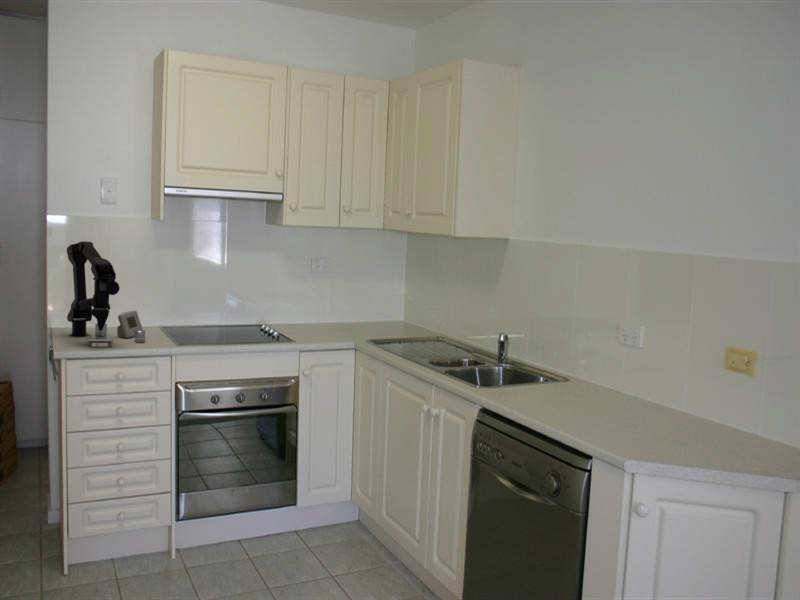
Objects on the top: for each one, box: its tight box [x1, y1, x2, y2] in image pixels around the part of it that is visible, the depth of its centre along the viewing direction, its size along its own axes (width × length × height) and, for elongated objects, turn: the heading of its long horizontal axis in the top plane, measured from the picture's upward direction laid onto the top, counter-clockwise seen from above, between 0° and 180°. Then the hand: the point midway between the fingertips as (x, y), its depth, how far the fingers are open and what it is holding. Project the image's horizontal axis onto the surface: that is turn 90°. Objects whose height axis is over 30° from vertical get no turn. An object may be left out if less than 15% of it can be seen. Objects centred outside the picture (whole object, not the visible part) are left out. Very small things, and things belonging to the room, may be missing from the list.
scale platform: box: [87, 334, 114, 342], centre depth 304 cm, size 10×9×1 cm
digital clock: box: [116, 310, 144, 339], centre depth 329 cm, size 16×9×11 cm, turn 165°
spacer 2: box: [133, 329, 146, 344], centre depth 315 cm, size 4×4×5 cm
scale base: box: [87, 338, 114, 348], centre depth 304 cm, size 10×9×2 cm
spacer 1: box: [94, 322, 108, 337], centre depth 306 cm, size 4×4×5 cm
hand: (101, 329), depth 306 cm, fingers open, 6 cm apart
